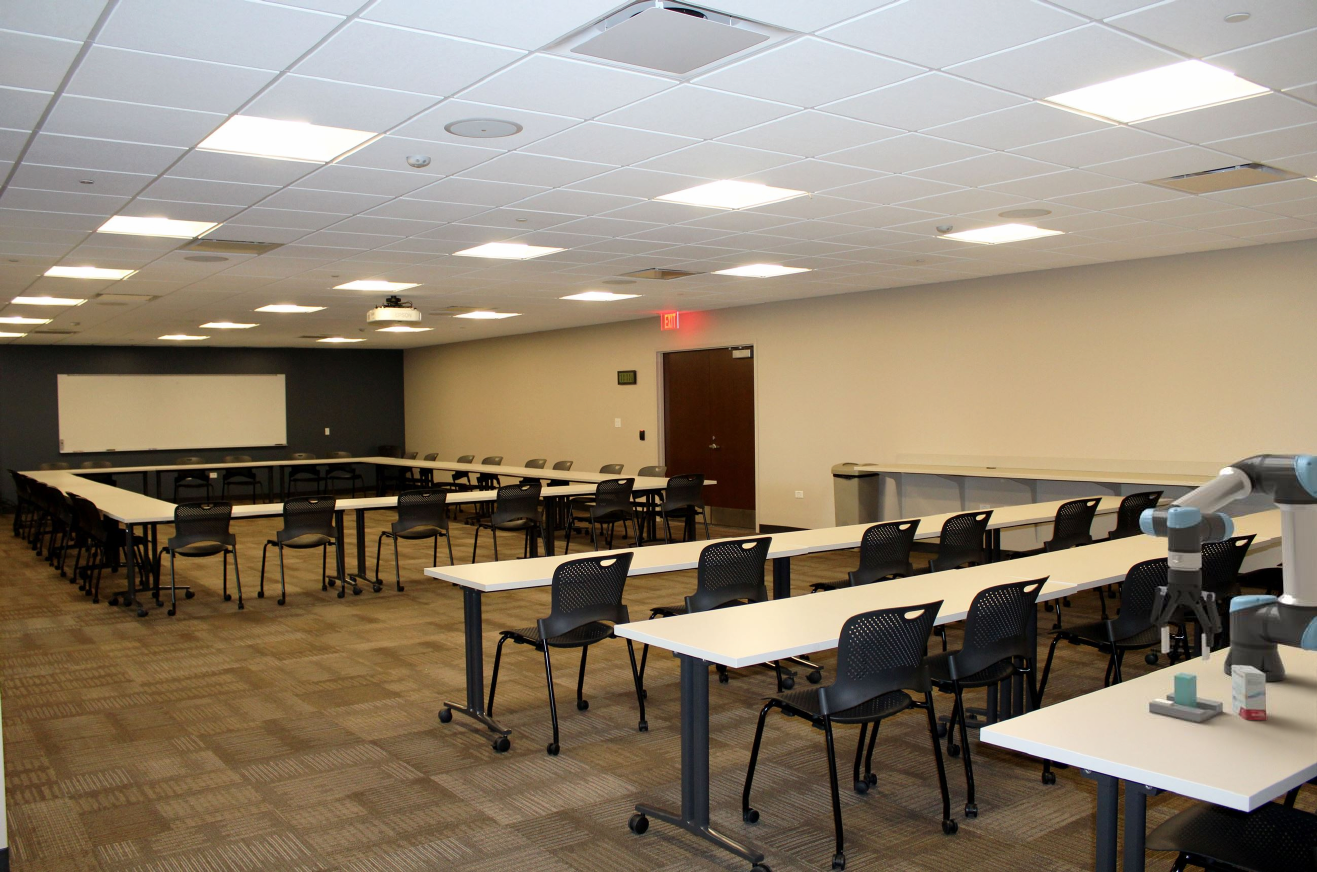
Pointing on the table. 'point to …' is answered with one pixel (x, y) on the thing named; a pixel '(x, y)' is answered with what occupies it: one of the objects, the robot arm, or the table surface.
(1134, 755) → the table surface
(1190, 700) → the plug
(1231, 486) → the robot arm
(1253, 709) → the ink box
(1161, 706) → the socket
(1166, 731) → the table surface
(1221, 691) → the table surface
